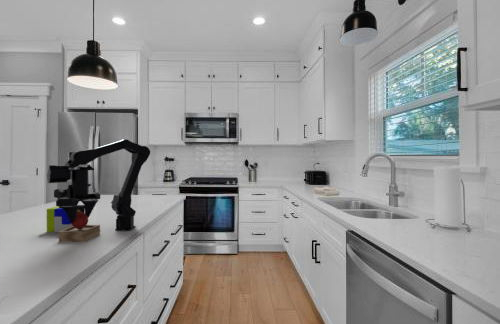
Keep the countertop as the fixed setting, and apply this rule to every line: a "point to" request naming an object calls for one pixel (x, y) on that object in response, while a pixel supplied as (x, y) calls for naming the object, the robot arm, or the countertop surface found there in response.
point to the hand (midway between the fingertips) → (80, 220)
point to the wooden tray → (79, 233)
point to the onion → (80, 220)
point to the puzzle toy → (59, 219)
